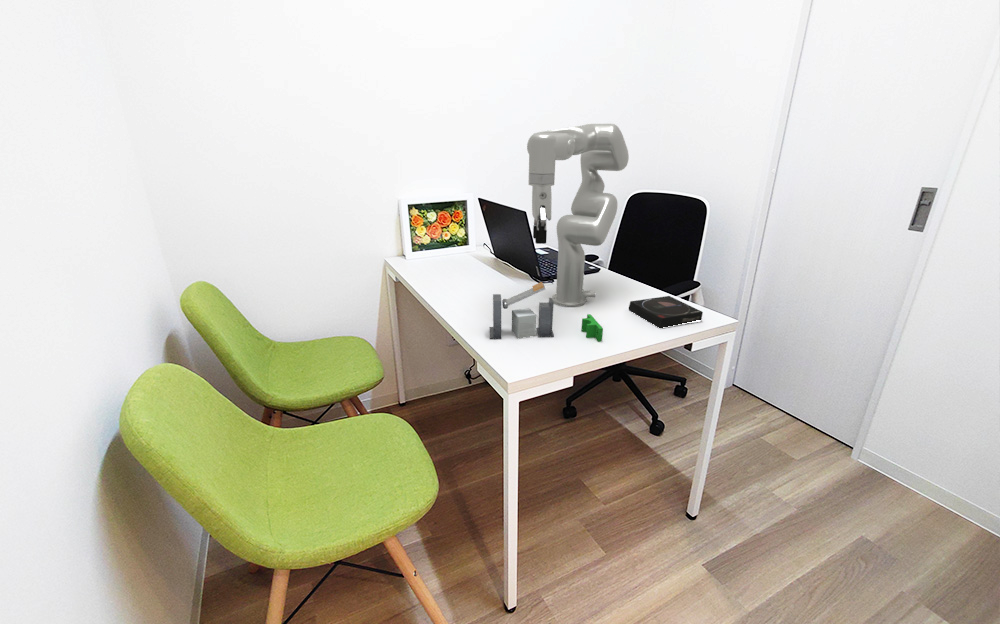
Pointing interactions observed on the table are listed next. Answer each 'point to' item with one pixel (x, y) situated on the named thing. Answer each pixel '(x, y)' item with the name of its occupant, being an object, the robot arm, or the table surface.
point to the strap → (523, 295)
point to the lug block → (545, 319)
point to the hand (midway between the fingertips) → (539, 240)
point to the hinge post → (496, 318)
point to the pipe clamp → (592, 328)
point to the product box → (523, 322)
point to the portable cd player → (665, 311)
